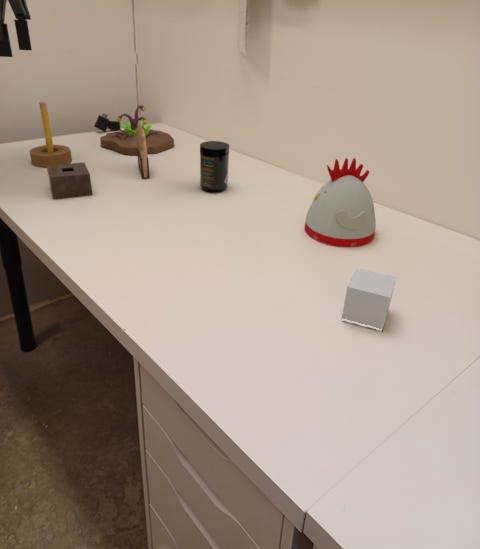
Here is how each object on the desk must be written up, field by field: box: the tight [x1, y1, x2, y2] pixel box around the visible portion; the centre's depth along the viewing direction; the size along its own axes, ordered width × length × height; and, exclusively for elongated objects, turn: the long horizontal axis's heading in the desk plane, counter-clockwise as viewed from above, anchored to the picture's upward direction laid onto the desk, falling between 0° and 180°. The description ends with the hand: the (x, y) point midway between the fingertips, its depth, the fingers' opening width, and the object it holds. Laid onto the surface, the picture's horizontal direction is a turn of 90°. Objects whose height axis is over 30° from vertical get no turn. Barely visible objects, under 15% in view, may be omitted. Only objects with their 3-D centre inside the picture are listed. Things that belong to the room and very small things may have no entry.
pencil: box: [38, 101, 54, 152], centre depth 122 cm, size 2×2×15 cm
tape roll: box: [29, 144, 73, 168], centre depth 126 cm, size 10×10×3 cm
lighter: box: [93, 112, 121, 133], centre depth 153 cm, size 8×2×5 cm
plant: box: [99, 104, 175, 157], centre depth 139 cm, size 20×20×11 cm
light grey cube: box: [341, 267, 397, 330], centre depth 70 cm, size 6×6×6 cm
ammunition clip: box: [137, 120, 150, 180], centre depth 119 cm, size 11×2×12 cm, turn 15°
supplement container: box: [199, 140, 230, 193], centre depth 111 cm, size 7×7×10 cm
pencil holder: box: [46, 162, 93, 200], centre depth 108 cm, size 8×8×5 cm
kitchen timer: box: [304, 157, 377, 248], centre depth 92 cm, size 14×14×15 cm
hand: (16, 53), depth 110 cm, fingers open, 13 cm apart
